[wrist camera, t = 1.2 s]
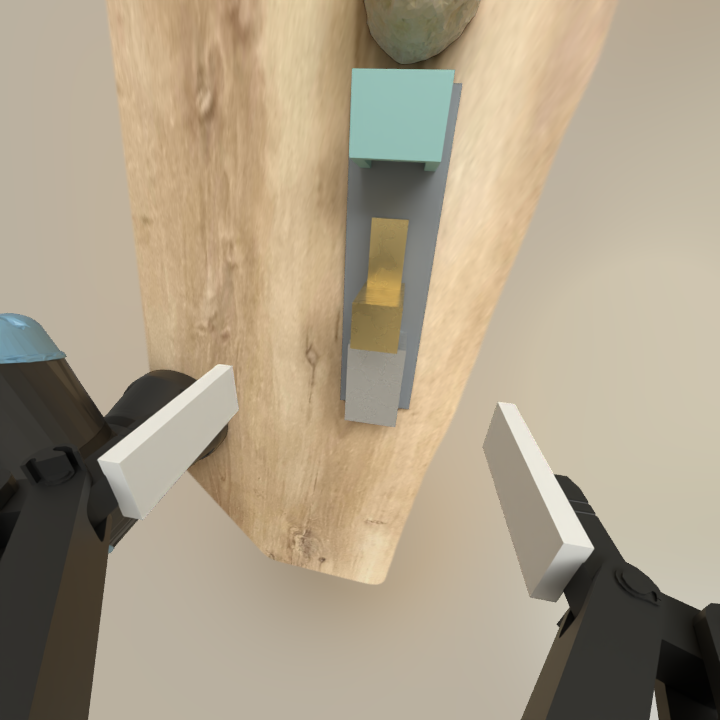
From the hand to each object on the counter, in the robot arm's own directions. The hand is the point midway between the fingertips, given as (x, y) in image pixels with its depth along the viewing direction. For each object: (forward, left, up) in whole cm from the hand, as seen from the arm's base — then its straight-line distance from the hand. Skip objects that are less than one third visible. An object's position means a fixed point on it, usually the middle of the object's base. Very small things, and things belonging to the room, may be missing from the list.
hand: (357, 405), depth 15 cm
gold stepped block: (0, -2, -19) cm, 20 cm away
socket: (0, +15, -21) cm, 25 cm away
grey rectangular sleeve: (0, -8, -21) cm, 22 cm away
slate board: (0, +2, -21) cm, 21 cm away
